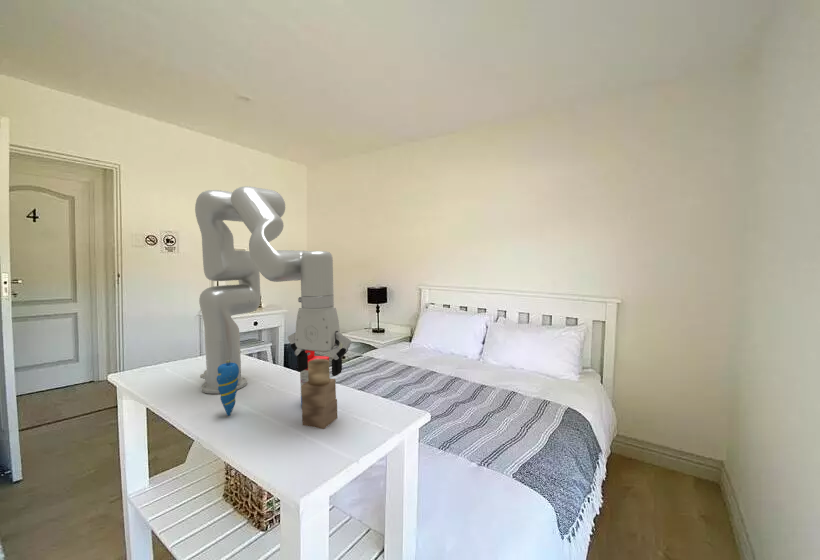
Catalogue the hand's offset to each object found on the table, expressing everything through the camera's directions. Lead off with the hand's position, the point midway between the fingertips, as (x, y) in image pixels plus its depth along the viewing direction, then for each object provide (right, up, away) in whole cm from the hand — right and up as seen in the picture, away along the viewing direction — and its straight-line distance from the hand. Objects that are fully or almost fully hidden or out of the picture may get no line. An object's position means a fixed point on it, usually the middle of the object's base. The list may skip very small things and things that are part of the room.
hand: (319, 372), depth 87 cm
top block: (0, -7, 0) cm, 7 cm away
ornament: (-24, -12, +4) cm, 28 cm away
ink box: (-4, -12, +13) cm, 18 cm away
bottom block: (0, -12, +1) cm, 12 cm away
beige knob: (0, -2, 0) cm, 2 cm away
